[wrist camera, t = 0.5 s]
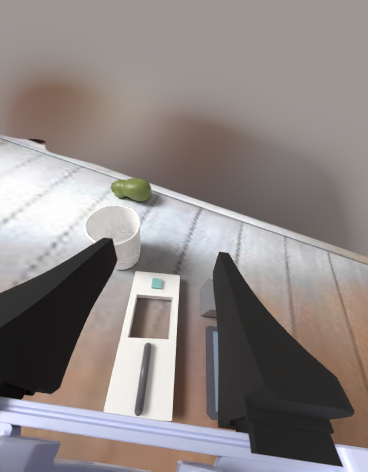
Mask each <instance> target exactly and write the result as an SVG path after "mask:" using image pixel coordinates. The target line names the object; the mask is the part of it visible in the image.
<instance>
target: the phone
mask: <svg viewBox="0 0 368 472" xmlns="http://www.w3.org/2000/svg"><path fill="white" fill-rule="evenodd" d="M206 387H207V415H208V416H209V417H210V418H211V419H213V420H218V327H213V326H208V327H206Z"/></svg>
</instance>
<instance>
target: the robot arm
mask: <svg viewBox="0 0 368 472" xmlns="http://www.w3.org/2000/svg"><path fill="white" fill-rule="evenodd" d="M117 260H118V259H117V255H116V251H115V247H114V243H113V239H112V238H102V239H100V240H99V241H97V242H95V243H94V244H92V245H91V246H89V247H88V248H86V249H84V250H83V251H81V252H80V253H78V254H77V255H75V256H73V257H72V258H70V259H68V260H67V261H65V262H63V263H61V264H60V265H58V266H56V267H55V268H53V269H51V270H49V271H47V272H45V273H43V274H41V275H39V276H37V277H35V278H33V279H31V280H29V281H27V282H24V283H22V284H20V285H18V286H15V287H13V288H11V289H9V290H6V291H4V292H2V293H0V472H153V471H148V470H143V469H138V468H132V467H126V466H119V465H112V464H105V463H97V462H88V461H79V460H70V459H62V458H55V456H56V453H57V451H58V449H59V447H60V441H56V440H52V439H47V438H40V437H28V436H21V426H26V427H32V428H39V429H45V430H52V431H59V432H65V433H72V434H78V435H85V436H91V437H98V438H104V439H111V440H118V441H124V442H131V443H137V444H144V445H150V446H157V447H163V448H170V449H177V450H183V451H190V452H196V453H203V454H209V455H216V456H218V457H217V458H216V459H215V462H214V464H213V465H210V464H206V463H201V462H194V461H184V460H179V461H178V462H177V472H368V449H367V448H361V447H354V446H347V445H339V444H334V443H333V440H332V438H331V435H330V433H331V434H333V433H334V431H333V428H332V426H331V423H330V421H329V419H336V418H344V417H350V416H352V415H353V414H354V409H353V408H352V406H351V404H350V402H349V400H348V398H347V396H346V394H345V392H344V390H343V388H342V386H341V384H340V383H339V381H338V379H337V377H336V376H334V375H333V374H332V373H331V372H330V371H329V370H328V369H326V368H325V367H324V366H323V365H322V364H321V363H320V362H319V361H317V360H316V359H315V358H314V357H313V356H312V355H311V354H310V353H308V352H307V351H306V350H305V349H304V348H303V347H302V346H301V345H300V344H299V343H298V342H297V341H296V340H295V339H294V338H293V337H292V336H291V335H290V334H289V333H288V332H287V331H286V330H285V329H284V328H283V327H282V326H281V325H280V324H279V323H278V322H277V321H276V320H275V318H274V317H273V316H272V315H271V314H270V313H269V312H268V310H267V309H266V308H265V307H264V306H263V304H262V303H261V302H260V301H259V299H258V298H257V297H256V295H255V294H254V293H253V291H252V290H251V289H250V287H249V286H248V284H247V283H246V281H245V280H244V278H243V277H242V275H241V274H240V272H239V270H238V269H237V267H236V265H235V264H234V262H233V260H232V258H231V256H230V255H229V253H224V252H219V254H218V257H217V261H216V264H215V267H214V270H213V290H214V299H215V307H216V315H217V326H218V427H219V428H225V429H232V430H236V432H234V431H227V430H221V429H214V428H207V427H200V426H194V425H187V424H180V423H174V422H167V421H160V420H153V419H147V418H140V417H133V416H127V415H120V414H113V413H106V412H100V411H93V410H86V409H80V408H73V407H66V406H59V405H53V404H46V403H39V402H33V401H26V400H21V399H22V398H23V396H24V395H30V396H33V395H34V394H35V392H41V393H47V394H52V393H53V392H55V391H56V390H57V389H59V388H60V386H61V383H62V380H63V377H64V374H65V371H66V369H67V366H68V363H69V360H70V358H71V355H72V353H73V350H74V348H75V345H76V343H77V340H78V338H79V336H80V333H81V331H82V329H83V327H84V324H85V322H86V320H87V318H88V316H89V313H90V311H91V309H92V307H93V305H94V304H95V302H96V300H97V298H98V297H99V295H100V293H101V292H102V290H103V288H104V286H105V285H106V283H107V281H108V280H109V278H110V276H111V274H112V272H113V270H114V268H115V265H116V263H117Z"/></svg>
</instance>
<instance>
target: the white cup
mask: <svg viewBox="0 0 368 472" xmlns="http://www.w3.org/2000/svg"><path fill="white" fill-rule="evenodd" d="M84 230H85V233H86V235H87V237H88V238H89V240H90V241H91V243H92V244H94V243H95V242H97V241H99V240H100V239H102V238H112V239H113V243H114V247H115V251H116V255H117V259H118V260H117V263H116V265H115V268H114V269H116V270H125V269H128V268H130V267H132V266H134V265H135V264H136V263H137V262H138V260H139V257H140V248H141V222H140V218H139V216H138V214H137V213H136V212H135V211H134V210H132V209H131V208H129V207H126V206H122V205H109V206H105V207H102V208H99V209H97V210H96V211H94V212H93V213H91V214H90V215H89V217H88V218H87V220H86V222H85V225H84Z"/></svg>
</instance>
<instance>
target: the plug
mask: <svg viewBox="0 0 368 472" xmlns="http://www.w3.org/2000/svg"><path fill="white" fill-rule="evenodd" d="M200 316H205V317H217V315H216V307H215V299H214V290H213V280H211V279H209V280H208V281H207V282H206V283H205V284H204V286H203V287H202V288H201V289H200Z"/></svg>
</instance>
